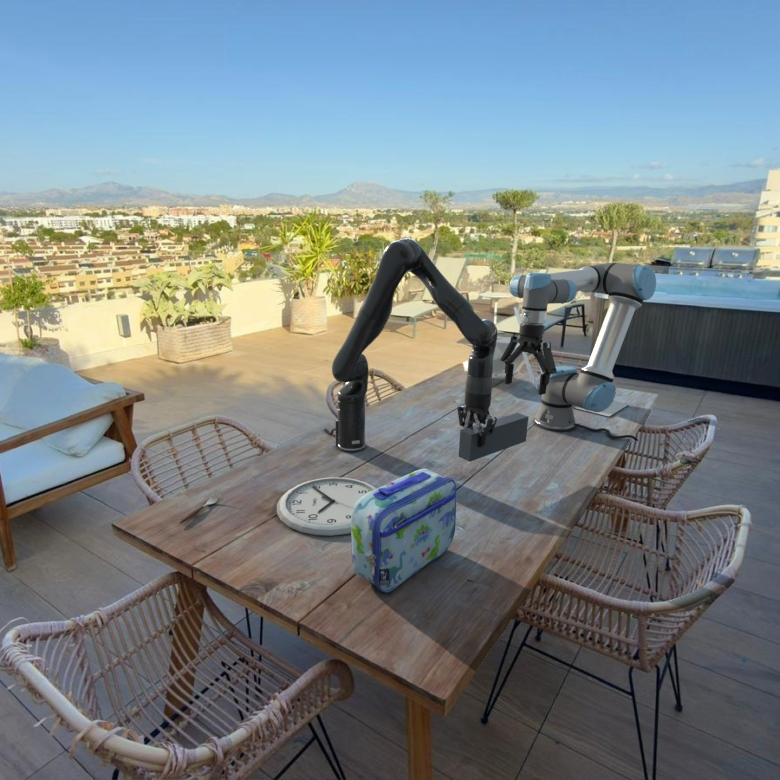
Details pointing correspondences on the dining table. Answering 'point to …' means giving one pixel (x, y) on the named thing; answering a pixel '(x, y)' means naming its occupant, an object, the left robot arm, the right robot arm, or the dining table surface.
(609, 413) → the invitation card
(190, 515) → the fork
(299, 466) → the dining table surface
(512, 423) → the bar
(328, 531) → the wall clock
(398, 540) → the lunch box
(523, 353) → the white plastic object
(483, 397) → the left robot arm
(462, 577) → the dining table surface
